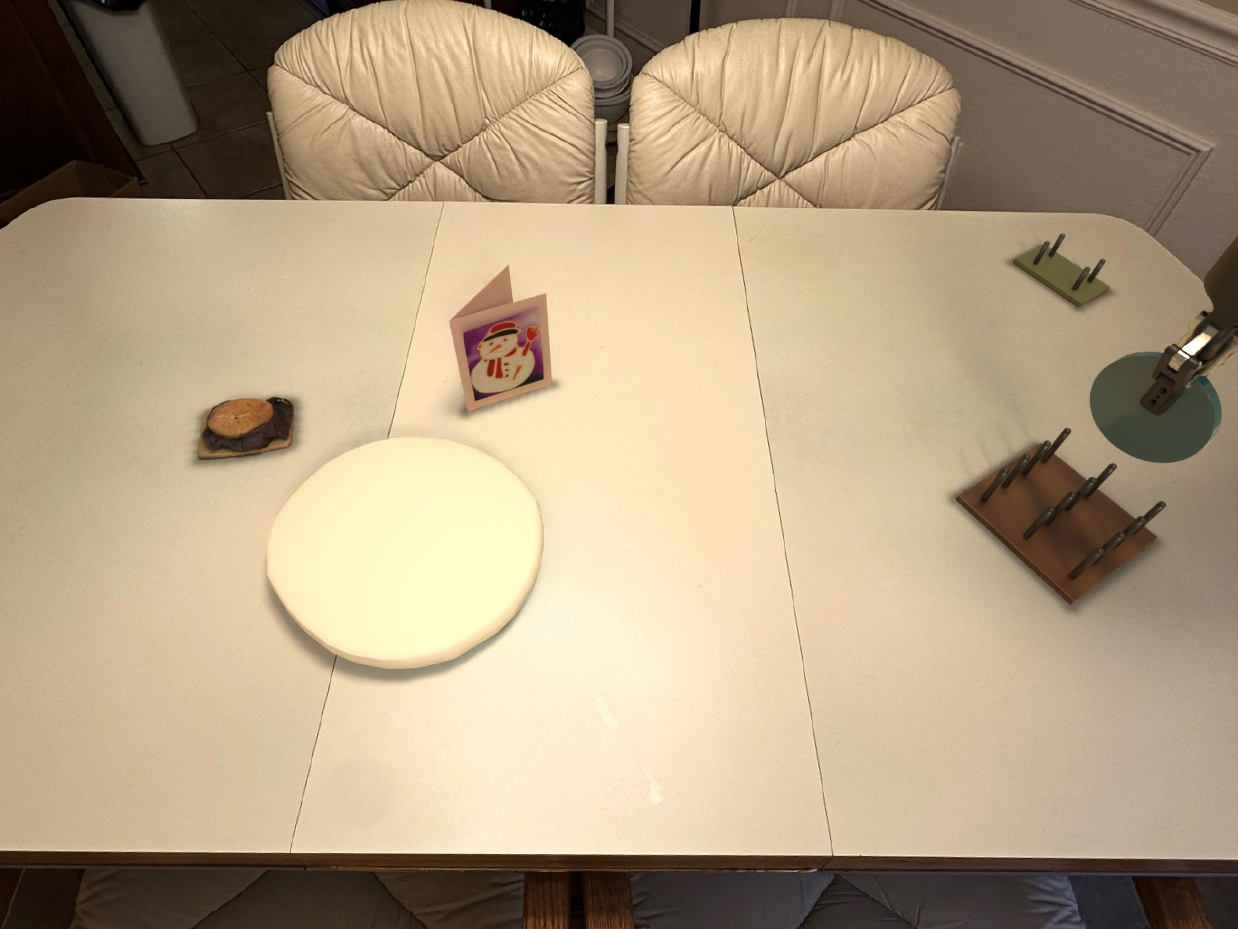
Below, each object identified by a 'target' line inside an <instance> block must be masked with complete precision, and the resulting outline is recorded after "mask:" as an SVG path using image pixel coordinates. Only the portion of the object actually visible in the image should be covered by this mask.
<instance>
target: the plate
mask: <svg viewBox="0 0 1238 929" xmlns="http://www.w3.org/2000/svg"><path fill="white" fill-rule="evenodd" d="M541 512H542V511H541V507H540V502H539V501H538V500H537V499H536V497H535V496H534V495H533V494H532V492H531V491H530V490H529V488H528V487H527V486H526V484H525V483H524V482H523V481H522V479H521V478H520V477H519V475H517V474H516V473H515V472H514V471H513V470H512V469H510V468H509V467H508V466H507V465H505V464H504V463H503V462H502V461H500V460H498V459H496V458H494V457H492V456H490V455H489V454H486V453H484V452H483V451H481V450H479V449H477V448H475V447H473V446H471V445H468V444H466V443H462V442H458V441H455V440H452V439H445V438H444V439H443V438H438V437H437V438H436V437H427V436H398V437H397V436H396V437H391V438H386V439H380V440H374V441H371V442H368V443H366V444H363V445H360V446H358V447H354V448H352V449H350V450H346V451H344V452H343V453H341V454H340V455H338V456H336V457H334V458H333V459H331V460H330V461H328V462H326V463H324V464H323V465H322V466H321V467H320V468H318V469H317V470H316V471H315V472H314V473H313V474H312V475H311V476H309V477H308V478H307V479H306V480H305V481H303V482H302V483H301V484H300V486H298V488H297V489H296V490H295V491H294V492H293V493H292V494H291V496H289V497H288V499H287V500H286V501H285V503H284V504H283V506H282V507H281V508H280V510H279V511H278V513H277V514H276V516H275V517H274V518H273V520H272V522H271V525H270V528H269V531H268V534H267V537H266V542H265V548H266V550H265V551H266V575H267V580H268V582H269V583H270V585H271V587H272V589H273V590H274V592H275V593H276V595H277V597H278V598H279V600H280V601H281V603H282V604H283V606H284V608H285V609H286V611H287V613H288V614H289V616H290V617H291V618H292V619H293V620H294V621H295V622H296V623H297V624H298V626H300V628H301V629H302V630H303V631H304V632H305V633H306V634H307V635H309V636H310V637H311V638H313V639H314V640H315V641H316V642H317V643H319V644H320V645H321V646H323V647H324V648H325V649H327V650H328V651H329V652H331V653H332V654H334V655H336V656H338V657H341V658H343V659H345V660H348V661H350V662H352V663H355V664H357V665H366V666H370V667H375V668H376V667H377V668H381V669H387V670H399V669H400V670H401V669H403V670H405V669H418V668H423V667H428V666H432V665H436V664H440V663H445V662H449V661H453V660H455V659H457V658H459V657H460V656H462V655H463V654H465V653H467V652H468V651H470V650H471V649H473V648H475V647H476V646H478V645H480V644H482V643H483V642H484V641H486V640H488V639H489V638H491V637H492V636H495V635H496V634H498V633H499V632H500V631H501V630H502V629H503V628H504V626H506V625H507V624H508V623H509V622H510V621H511V620H512V619H513V618H514V617H515V616H516V615H517V613H518V611H519V610H520V609H521V607H522V606H523V604H524V603H525V601H526V599H527V598H528V596H529V595H530V593H531V592H532V591H533V588H534V585H535V582H536V580H537V578H538V575H539V573H540V569H541V565H542V559H543V553H544V546H545V542H544V541H545V540H544V539H545V538H544V537H545V536H544V533H545V532H544V530H545V529H544V522H543V517H542V513H541Z"/></svg>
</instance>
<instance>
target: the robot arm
mask: <svg viewBox="0 0 1238 929" xmlns="http://www.w3.org/2000/svg"><path fill="white" fill-rule="evenodd" d="M1203 289H1204V291H1205V294H1206V296H1207V297H1208V298H1209V300H1210V302H1211V304H1212V307H1211V308H1210V309H1209V310H1207V309H1203V310H1201V311H1200V312H1199V313H1198V314H1197V315H1196V316H1195V317H1194V318H1193V319H1192V320H1191V322H1190V323H1189V324H1188V326H1187V328H1188V329H1187V331H1186V332H1185V334H1184V335H1183V336H1182V337H1181V338H1180V339H1179V340H1178V342H1177V343H1172V344H1170V345H1168V346H1166V347H1165V348H1164V350H1163V352H1162V353H1163V354H1162V356H1161V358H1160V360H1159V362H1158V364H1157V366H1156V368H1155V370H1154V372H1153V375H1152V378H1154V379H1155V380H1157V381H1156V382H1155V383H1154V384H1153V385H1152V386H1151V388H1150V389H1149V390H1148V391H1147V392H1146V393H1145V394H1144V396H1143V397H1142V398H1141V399H1140V404H1141V405H1142V406H1143V407H1144V408H1146V409H1147V410H1148V411H1150V412H1151V413H1153V414H1154V415H1157V416H1159V415H1161V414H1163V413H1164V412H1166V411H1167V410H1168V409H1169V407H1170V406H1171V405H1172V404H1173V403H1174V402H1175V401H1176V400H1177V399H1178V398H1179V397H1180V396H1181V395H1182V393H1183V392H1184V391H1185V390H1187V389H1190V388H1191V387H1192V386H1193V385H1192V384H1193V383H1194V382H1195V381H1196V380H1197V379H1198V378H1199V377H1200V376H1206V377H1207V378H1208V377H1209V376H1210V375H1211V374H1212V372H1213V371H1215V370H1216V369H1217V368H1219V367H1221V366H1223V365H1224V364H1226V363H1227V362H1229V361H1230V360H1232V359H1233V358H1234V357H1235V356H1236V355H1237V354H1238V235H1237V236H1235V238H1234V239H1233V241H1231V243H1230V244H1229V246H1228V247H1227V248H1226V249H1225V250H1224V252H1222V254H1221V255H1220V257H1219V258H1218V259H1217V260H1216V261H1215V263H1214V264H1213V265H1212V266H1211V267H1210V269H1209V270H1208V271H1207V273H1206V274H1205V276H1204V278H1203Z"/></svg>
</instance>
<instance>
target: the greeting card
mask: <svg viewBox="0 0 1238 929" xmlns="http://www.w3.org/2000/svg"><path fill="white" fill-rule="evenodd" d="M512 288H513V287H512V279H511V271H510V264H507V265H506V266H505V267H504V268H502V269H501V271H499V272H498V273H497V274H496V276H495V277H494V278H492V279H491V280H490V281H489V282H488V283H487V284H486V285H485V286H484V287H482V289H481V290H480V291H479V292H477V293H476V295H474V296H473V298H472V299H470V300H469V301H468V302H467V303H466V304H465V305H464V306H463V307H462V308H461V309H460V310H459V311H458V312H457V313H456V314H455V315H453V316H452V317H450V319H449V320H448V322H449V323H448V324H449V327H450V332H451V338H452V342H453V347H454V351H455V358H456V361H457V366H458V371H459V375H460V380H461V385H462V391H463V396H464V399H465V405H466V411H467V412H471V411H474V410H478V409H480V408H483V407H484V408H485V407H486V406H489V405H493V404H495V403H500V402H501V401H505V400H508V399H512V398H515V397H517V396H520V395H524V394H526V393H529V392H533V391H535V390H539V389H542V388H545V387H548V386H551V385H553V377H552V359H551V345H550V330H549V315H548V299H547V292H545V293H542V294H541V293H540V294H538V295H534V296H531V297H527V298H524V299H521V300H517V301H514V299H513V290H512Z"/></svg>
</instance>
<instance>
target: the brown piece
mask: <svg viewBox="0 0 1238 929" xmlns="http://www.w3.org/2000/svg"><path fill="white" fill-rule="evenodd" d="M294 408H295V404H294V402H293V401H292V400H289V399H287V398H283V397H279V396H272V397H271V396H270V397H269V398H267V399H262V398H255V397H254V398H253V397H252V398H251V397H243V398H235V399H227V400H225V401H222V402H220V403H218V404H217V405H214V406H212V408H211V409H210V408H209V409H207V410H206V411H204V412H203V416H202V422H201V427H200V435H199V440H198V446H197V457H198V459H205V458H206V459H211V458H213V459H214V458H223V457H224V458H228V457H237V456H241V457H243V456H245V455H252V454H257V453H262V454H264V453H265V452H268V451H273V450H282V449H285V448H289V447H291V445H292V442H293V441H294V440H293V436H294V434H293V433H294V429H295V426H294V421H295V414H294V413H295V412H294Z"/></svg>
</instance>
